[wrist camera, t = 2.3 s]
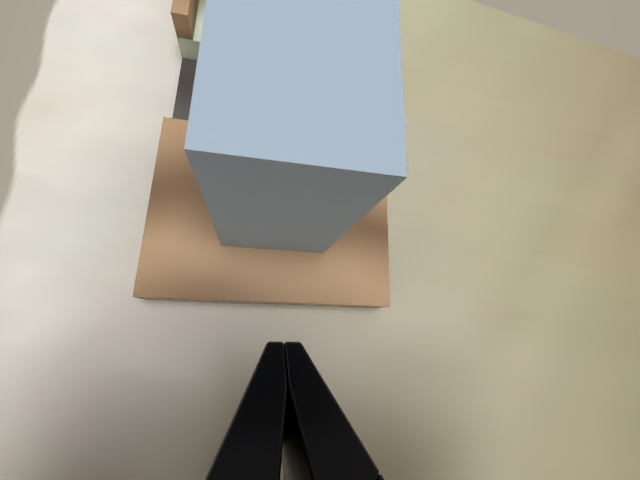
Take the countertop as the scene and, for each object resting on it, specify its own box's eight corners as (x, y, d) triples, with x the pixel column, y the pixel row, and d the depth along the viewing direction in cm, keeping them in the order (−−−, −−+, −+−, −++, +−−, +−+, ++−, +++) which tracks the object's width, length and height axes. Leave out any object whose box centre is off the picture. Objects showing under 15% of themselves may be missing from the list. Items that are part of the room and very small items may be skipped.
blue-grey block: (323, 252, 16) (407, 176, 8) (221, 245, 15) (183, 148, 7) (326, 147, 18) (397, -16, 9) (233, 134, 17) (215, -62, 8)
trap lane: (377, 307, 18) (413, 304, 14) (144, 299, 15) (109, 292, 11) (371, 11, 23) (396, -50, 19) (197, -29, 21) (185, -108, 17)
